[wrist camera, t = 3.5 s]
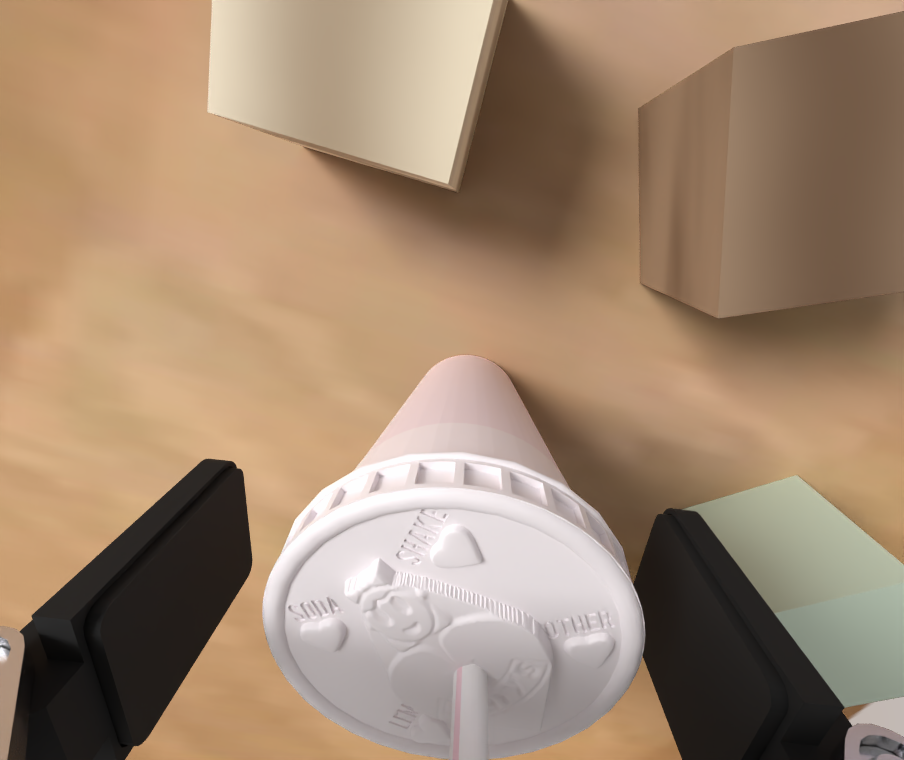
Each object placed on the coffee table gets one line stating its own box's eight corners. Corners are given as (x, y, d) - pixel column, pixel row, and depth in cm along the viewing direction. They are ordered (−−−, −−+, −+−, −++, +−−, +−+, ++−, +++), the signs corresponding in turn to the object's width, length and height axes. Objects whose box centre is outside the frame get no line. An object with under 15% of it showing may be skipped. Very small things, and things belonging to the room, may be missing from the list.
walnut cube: (826, 71, 12) (1056, -22, 7) (802, 256, 13) (973, 282, 9) (637, 108, 12) (733, 47, 8) (639, 282, 14) (717, 318, 9)
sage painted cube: (795, 473, 16) (920, 578, 12) (814, 566, 18) (931, 690, 13) (664, 513, 17) (730, 623, 13) (693, 597, 19) (762, 723, 14)
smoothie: (459, 500, 18) (400, 1316, 5) (346, 392, 16) (-214, 1163, 3) (588, 410, 16) (1098, 1361, 3) (474, 278, 14) (420, 1028, 1)
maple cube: (508, -2, 11) (528, -146, 7) (458, 192, 13) (448, 183, 9) (328, -60, 11) (222, -250, 7) (303, 146, 13) (207, 111, 8)
